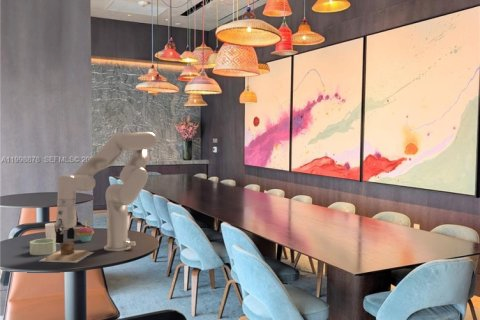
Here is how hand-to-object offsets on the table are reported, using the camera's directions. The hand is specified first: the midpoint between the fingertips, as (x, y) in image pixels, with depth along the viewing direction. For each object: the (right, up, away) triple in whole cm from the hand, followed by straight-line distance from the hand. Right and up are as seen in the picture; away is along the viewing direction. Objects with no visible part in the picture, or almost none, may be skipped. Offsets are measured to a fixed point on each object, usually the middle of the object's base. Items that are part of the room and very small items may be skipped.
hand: (65, 240), depth 186 cm
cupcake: (-3, -7, +33) cm, 34 cm away
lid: (+1, -7, +1) cm, 7 cm away
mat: (+1, -8, +1) cm, 8 cm away
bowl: (-14, -7, +8) cm, 18 cm away
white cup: (-17, -7, +27) cm, 32 cm away
